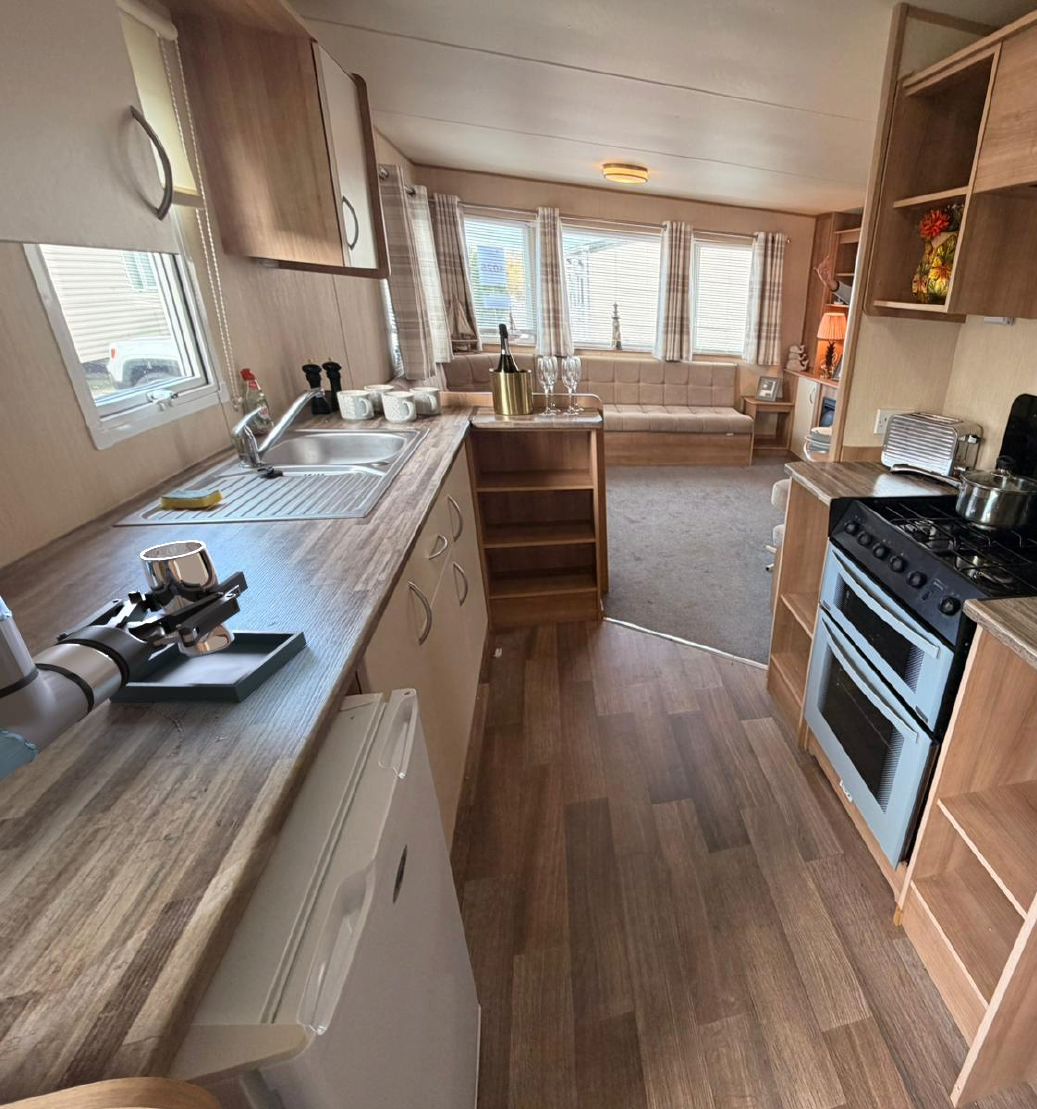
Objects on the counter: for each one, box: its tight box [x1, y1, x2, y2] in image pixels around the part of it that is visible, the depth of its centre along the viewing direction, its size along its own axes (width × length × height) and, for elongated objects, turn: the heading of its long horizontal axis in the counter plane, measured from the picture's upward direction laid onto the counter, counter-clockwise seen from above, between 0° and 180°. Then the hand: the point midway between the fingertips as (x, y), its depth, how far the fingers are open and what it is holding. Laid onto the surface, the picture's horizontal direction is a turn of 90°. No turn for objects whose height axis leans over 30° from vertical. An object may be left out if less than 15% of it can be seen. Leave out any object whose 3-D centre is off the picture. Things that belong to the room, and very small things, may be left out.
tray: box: [108, 629, 308, 704], centre depth 85 cm, size 17×15×3 cm
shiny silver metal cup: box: [139, 540, 235, 657], centre depth 81 cm, size 7×7×15 cm
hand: (212, 581), depth 86 cm, fingers closed on shiny silver metal cup, 7 cm apart
